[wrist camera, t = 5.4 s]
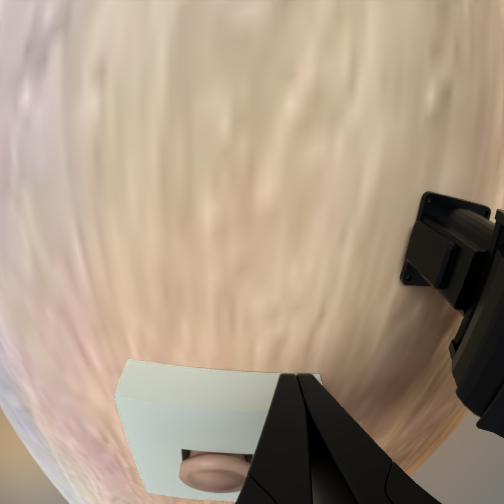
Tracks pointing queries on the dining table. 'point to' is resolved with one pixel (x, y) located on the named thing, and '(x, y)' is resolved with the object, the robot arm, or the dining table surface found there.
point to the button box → (190, 419)
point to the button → (214, 471)
